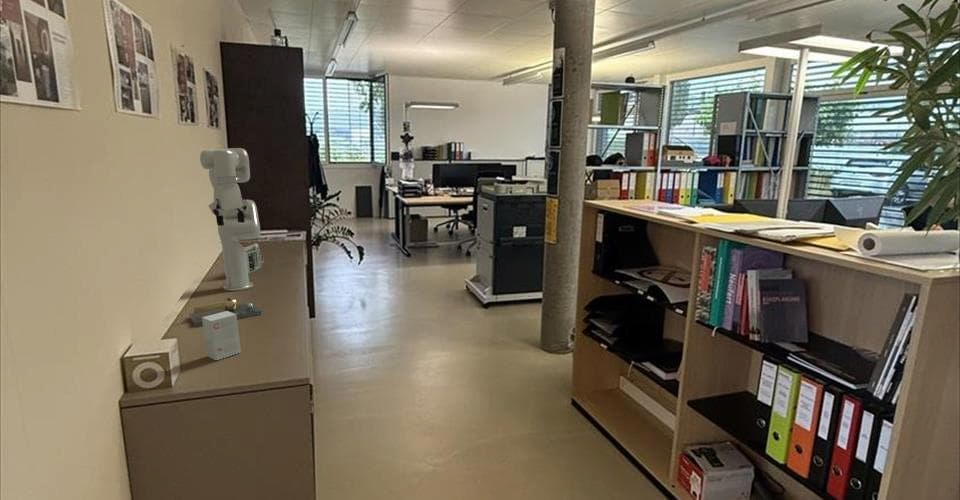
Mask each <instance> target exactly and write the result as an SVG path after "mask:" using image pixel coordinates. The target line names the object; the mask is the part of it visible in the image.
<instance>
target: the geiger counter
mask: <svg viewBox="0 0 960 500" xmlns="http://www.w3.org/2000/svg"><path fill="white" fill-rule="evenodd" d="M243 247H244V246H243ZM244 248H245V250H246V259H247V268H248V273H249V274H251V273H250V272H252V273H254V272H256V271H255V270H257V269H259V268H262V264H263V263H264V261H265V259H264V257H263V255H262V254H261V250H260V247H259V244H258V243H253V244H250V245H248V246H245V247H244ZM262 269H263V268H262ZM253 271H254V272H253ZM257 271H258V270H257Z"/></svg>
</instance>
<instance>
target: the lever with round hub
mask: <svg viewBox="0 0 960 500" xmlns="http://www.w3.org/2000/svg"><path fill="white" fill-rule="evenodd" d="M237 302H238V301H237V298H234V297H227V298H226V299H224V300H223V301H217V302H211V303H206V304H201V305H200V304H198V305H194V306H192V313H194V314H197V313H202V312H208V311H213V310H219V309H224V308H225V310H226V311H232V310H236V309H237V305H238V304H237Z"/></svg>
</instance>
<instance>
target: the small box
mask: <svg viewBox="0 0 960 500" xmlns="http://www.w3.org/2000/svg"><path fill="white" fill-rule="evenodd" d="M202 323H203V326H202V329H203V336H204V343H205V348H206V350H205V351H206V356H207V357H208V358H209V357H210V359H211V358H212V359H211V360H213V359H214V360H213V361H215V360H218V361H219V360H220V359H221V360H223V358H224V359H226V357H227V358H229V356H230V357H232V355H233V356H235V354H236V355H239V354H241V353H242V351H241V350H242V349H241V343H240V342H241V341H240V335H239V327H238V319H237V317H236V314H234V313H231V312H229V311H225V312H221V313H217V314H213V315H209V316H205V317H202ZM238 353H239V354H238Z"/></svg>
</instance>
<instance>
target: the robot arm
mask: <svg viewBox="0 0 960 500" xmlns="http://www.w3.org/2000/svg"><path fill="white" fill-rule="evenodd" d="M199 162H200V165H201V167H202V168H203V169H205V170H208V177H209V181H210V184H211V187H212V188H213V202H211V203H210V204H209V205H208V208H209V209H210V211H211V213H212V214H213V215H214V216H215V218H216V224H217V232H218V236H219V239H220V244H221V249H222V256H223V257H222V258H223V264H224V273H225V280H226V284H225V285H223V287H222V288H223V290H224V291H227V292H228V291H230V292H231V291H232V292H233V291H243V290H248V289H251V288H252V287H253V286H254V284H253V282H252V281H250V277H249V274H248V268H247V259H246V250H245V248H244V246H243V245H242V244H241V243H240V242H239V241H247V240H255V239H258V238H260V235H261V225H260V219H259V213H258V208H257V205H256V202H255V201H254V200H252V199H244V198H242V192H241V189H240V186H239V184H238V183H246V182H249V181H250V179H251V169H250V159H249V154H248V152H247V150H246V149H244V148H241V147H236V148H235V147H232V148H231V147H230V148H229V147H227V148H215V149H207V150H206V149H205V150H202V151H201V152H200V155H199Z"/></svg>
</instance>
